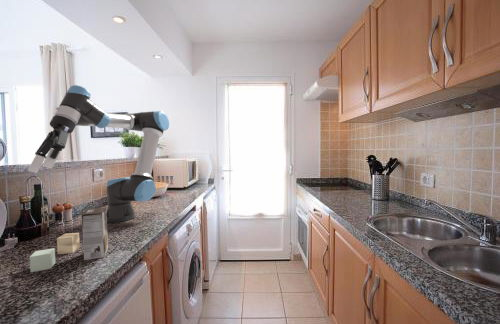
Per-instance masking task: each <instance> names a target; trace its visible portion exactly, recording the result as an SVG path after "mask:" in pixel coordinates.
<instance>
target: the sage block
mask: <svg viewBox="0 0 500 324" xmlns="http://www.w3.org/2000/svg"><path fill="white" fill-rule="evenodd" d="M55 264H56V250H55V247H53V248H47V249H46V248H45V249H41V250H39V249H38V250H35V251H34V252H33V253H32V254H31V255H30V256H29V268H30V269H29V271H30V273H35V272H40V271H45V270H50V269H52V267H53V266H54V265H55Z"/></svg>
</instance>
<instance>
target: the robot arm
mask: <svg viewBox="0 0 500 324" xmlns="http://www.w3.org/2000/svg"><path fill="white" fill-rule="evenodd" d="M55 110H56V112H55V113H54V115H53V116H52V118H51V120H50V122H49V126H50V127H51V128H52V129H53V130H51V131H50V132H48V134H47V135H46V137H45V138H44V140H43V142H42V143H41V144H40V145H39V148H38V149H37V150H36V152H35V153H34V155H35V156H34V158H33V160H32V162H31V163H30V165H29V167H28V169H27V171H28V172H30V173H34V174H38V172H39V170H40V169H41V167H44V168H47V169H50V170H52V169H53V166H54V165H55V163H56V161H57V159H58V157H59V155H60V154H61V152H62V150H65V148H66V145H67V143H68V142H67V141H68V137H69V134H72V133H73V132H74V130H75V128H76V127H77V126H78V127H81V126H82V127H97V128H98V129H105V128H119V129H120V128H121V129H124V130H128V131H136V132H142V133H143V137H142V141H141V144H140V149H139V153H138V157H137V160H136V161H137V162H136V166H135V170H134V172H133V173H132V174H130V177H129V176H126V177H119V178H113V179H108V180H107V181H106V196H107V207H106V216H107V223H120V222H121V223H122V222H126V221H130V220H133V219H135V218H136V212H135V210H134V208H133V205H132V202H139V203H141V202H148V201H150V200H151V199H152V198H153V197H154V196H155V193H156V191H157V186H156V183H155V181H154V177H153V176H152V172H153V169H154V163H155V160H156V159H155V158H156V154H157V149H158V146H159V141H160V138H161V137H162V136H163V135H164V131H167V130H168V129H169V126H170V120H169V118H168V116H167V114H166V113H165V112H163V111H162V110H154V111H153V110H152V111H141V112H134V113H123V114H120V113H112V112H106V110H104V109H102V108H101V107H100V106H98V105H97V104H96V103H94V102H93V101H92V100H91V93H90V91H89V90H88V89H87V88H86V87H83V86H82V85H81V86H80V85H77V84H75V85H71V86H70V87H69V88H68V90H67V91H66V92H65V95H64V96H63V99H62V100H61V102H60V104H59V106H57V107H55Z"/></svg>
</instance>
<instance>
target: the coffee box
mask: <svg viewBox="0 0 500 324" xmlns="http://www.w3.org/2000/svg"><path fill="white" fill-rule="evenodd" d="M106 211H107V207H94V208H93V207H92V208H87V209H86V210H84V212H83V213H82V214H81V226H82V243H83V244H82V245H83V261H87V260H88V261H89V260H94V259H100V258H105V256H106V254H107V252H108V250H109V238H108V237H109V235H108V222H107V216H106Z"/></svg>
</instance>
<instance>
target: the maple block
mask: <svg viewBox="0 0 500 324" xmlns="http://www.w3.org/2000/svg"><path fill="white" fill-rule="evenodd" d="M80 241H81V240H80V232H72V233H71V232H70V233H64V234H62V235H60V236H59V237H57V238H56V245H57V246H56V247H57V255H64V254H65V255H66V254H73V253H75V252H76V251H78V250H79V249H80V248H81V244H80Z"/></svg>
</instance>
